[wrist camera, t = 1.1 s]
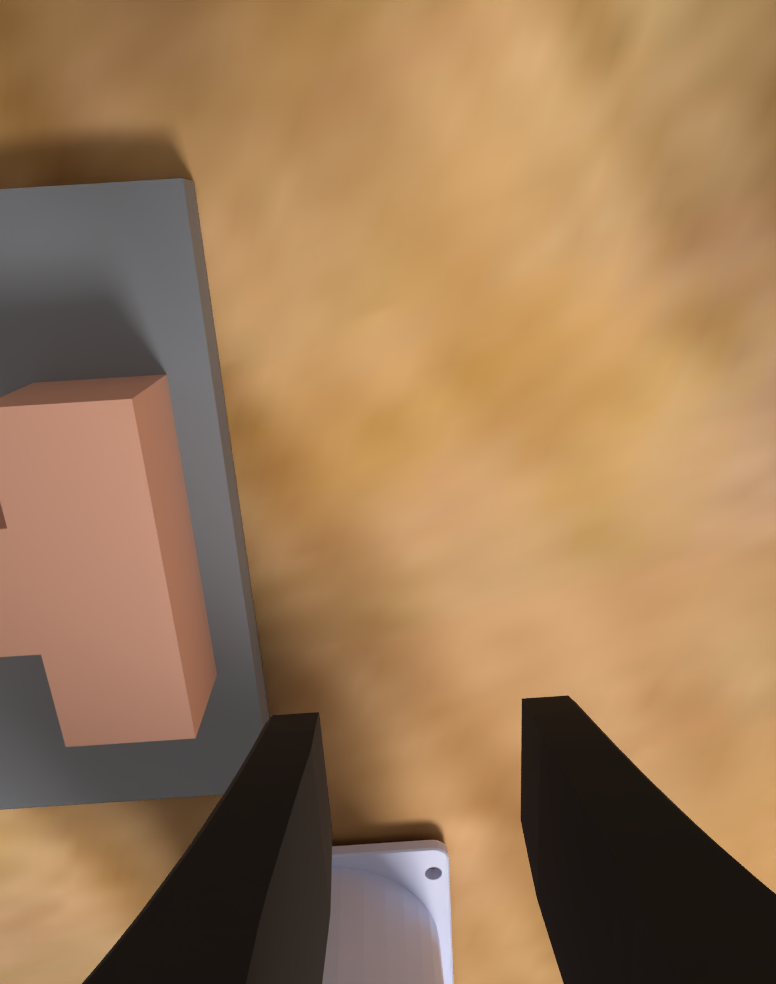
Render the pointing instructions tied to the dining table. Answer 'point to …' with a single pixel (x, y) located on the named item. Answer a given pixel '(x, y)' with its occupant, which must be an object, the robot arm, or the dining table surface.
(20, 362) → the board
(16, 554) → the t block
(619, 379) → the dining table surface
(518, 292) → the dining table surface
